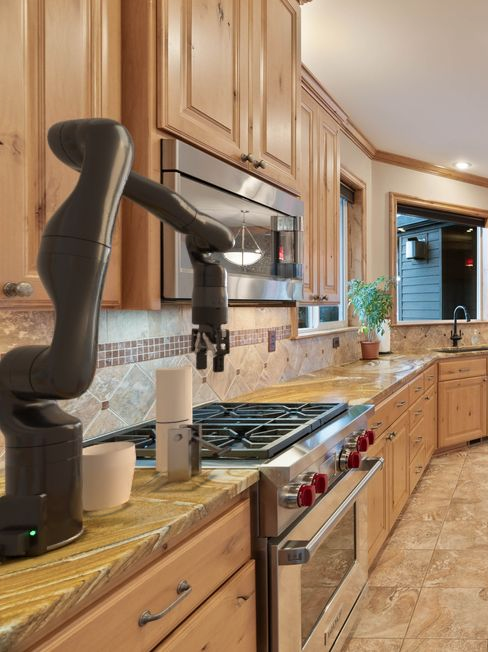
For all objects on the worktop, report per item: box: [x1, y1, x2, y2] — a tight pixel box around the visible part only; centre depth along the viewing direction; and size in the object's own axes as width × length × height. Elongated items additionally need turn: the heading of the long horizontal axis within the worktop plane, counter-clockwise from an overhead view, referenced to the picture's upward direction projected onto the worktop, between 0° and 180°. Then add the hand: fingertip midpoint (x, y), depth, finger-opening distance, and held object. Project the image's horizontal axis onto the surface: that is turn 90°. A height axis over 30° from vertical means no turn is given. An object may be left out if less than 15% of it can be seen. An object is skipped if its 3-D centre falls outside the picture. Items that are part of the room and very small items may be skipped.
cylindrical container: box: [155, 365, 193, 473], centre depth 112 cm, size 7×7×25 cm
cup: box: [83, 441, 137, 512], centre depth 91 cm, size 9×9×12 cm
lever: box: [181, 426, 232, 460], centre depth 105 cm, size 11×6×2 cm, turn 95°
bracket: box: [167, 423, 203, 483], centre depth 104 cm, size 8×9×13 cm
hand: (209, 370), depth 115 cm, fingers open, 8 cm apart
